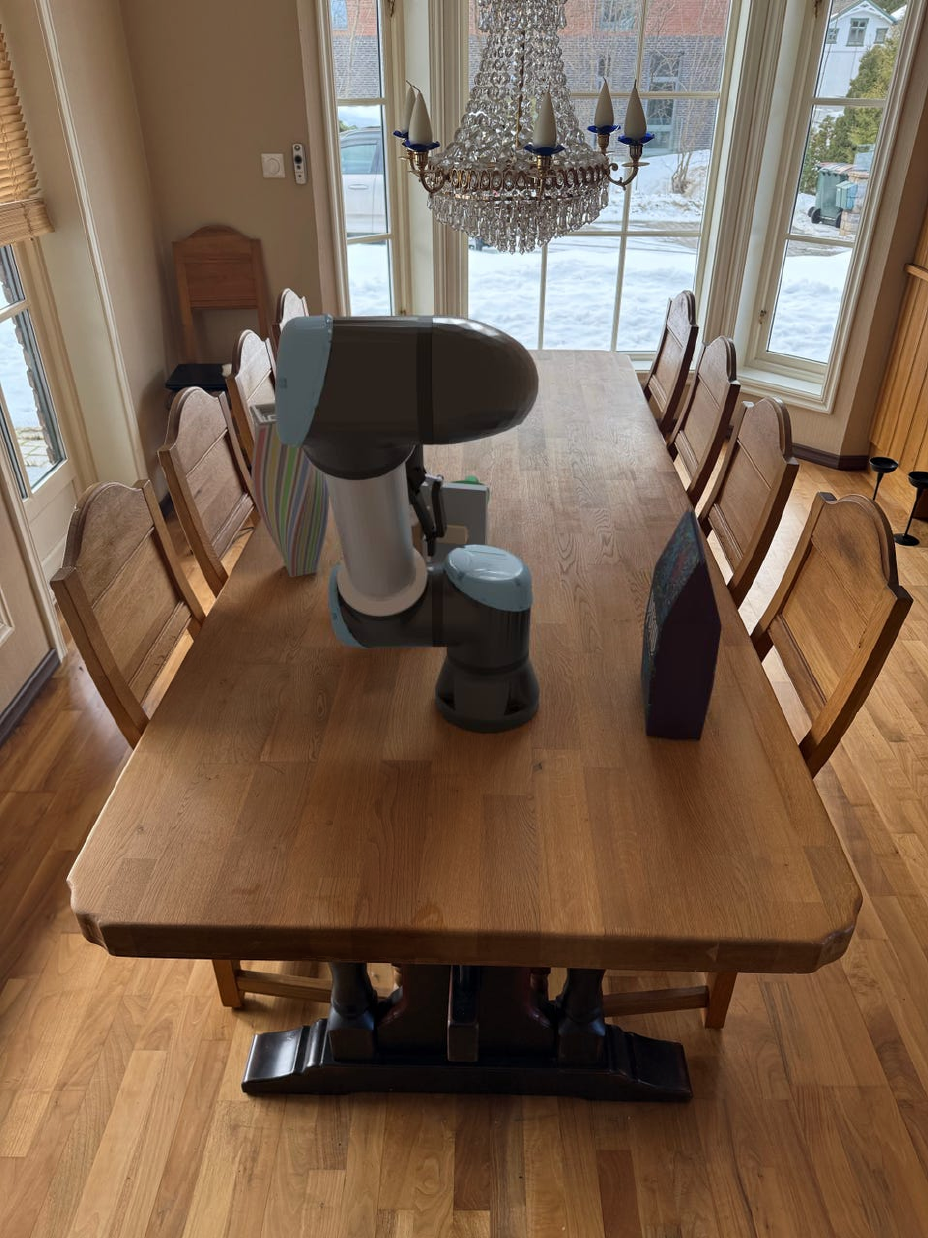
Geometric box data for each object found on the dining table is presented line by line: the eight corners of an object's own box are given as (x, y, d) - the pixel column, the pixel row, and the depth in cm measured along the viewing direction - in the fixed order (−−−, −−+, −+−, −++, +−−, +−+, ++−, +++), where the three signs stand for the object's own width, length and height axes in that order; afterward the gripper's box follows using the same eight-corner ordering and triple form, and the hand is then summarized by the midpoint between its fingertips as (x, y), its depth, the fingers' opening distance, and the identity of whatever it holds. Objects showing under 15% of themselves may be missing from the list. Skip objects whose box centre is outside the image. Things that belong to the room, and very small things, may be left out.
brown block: (420, 584, 142) (418, 529, 137) (378, 580, 144) (375, 525, 138) (432, 558, 150) (430, 505, 144) (392, 554, 151) (389, 502, 145)
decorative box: (642, 739, 120) (668, 560, 105) (637, 669, 134) (659, 502, 118) (703, 743, 119) (738, 564, 104) (691, 673, 133) (720, 505, 118)
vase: (328, 546, 167) (313, 392, 151) (346, 579, 157) (332, 418, 141) (257, 558, 163) (234, 402, 147) (271, 593, 153) (248, 429, 136)
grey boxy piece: (482, 591, 153) (483, 497, 143) (350, 578, 157) (343, 486, 147) (492, 562, 162) (493, 471, 152) (367, 550, 166) (361, 461, 156)
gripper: (467, 434, 134) (467, 564, 147) (342, 425, 138) (353, 553, 150) (457, 452, 128) (458, 586, 141) (327, 443, 131) (339, 575, 144)
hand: (404, 569), depth 145 cm, fingers closed on brown block, 7 cm apart
